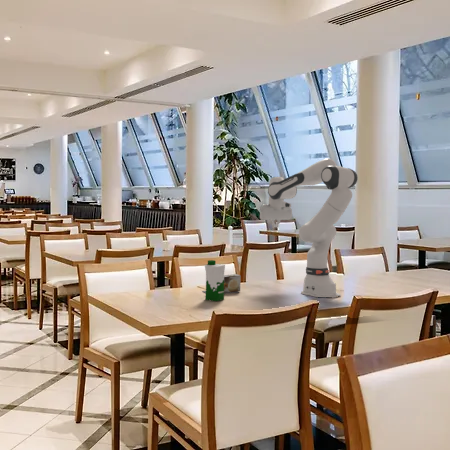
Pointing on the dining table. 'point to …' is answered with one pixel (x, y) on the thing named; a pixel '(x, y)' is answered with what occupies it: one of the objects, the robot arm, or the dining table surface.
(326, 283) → the robot arm
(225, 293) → the mat
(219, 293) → the milk carton
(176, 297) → the dining table surface
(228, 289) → the coffee box
